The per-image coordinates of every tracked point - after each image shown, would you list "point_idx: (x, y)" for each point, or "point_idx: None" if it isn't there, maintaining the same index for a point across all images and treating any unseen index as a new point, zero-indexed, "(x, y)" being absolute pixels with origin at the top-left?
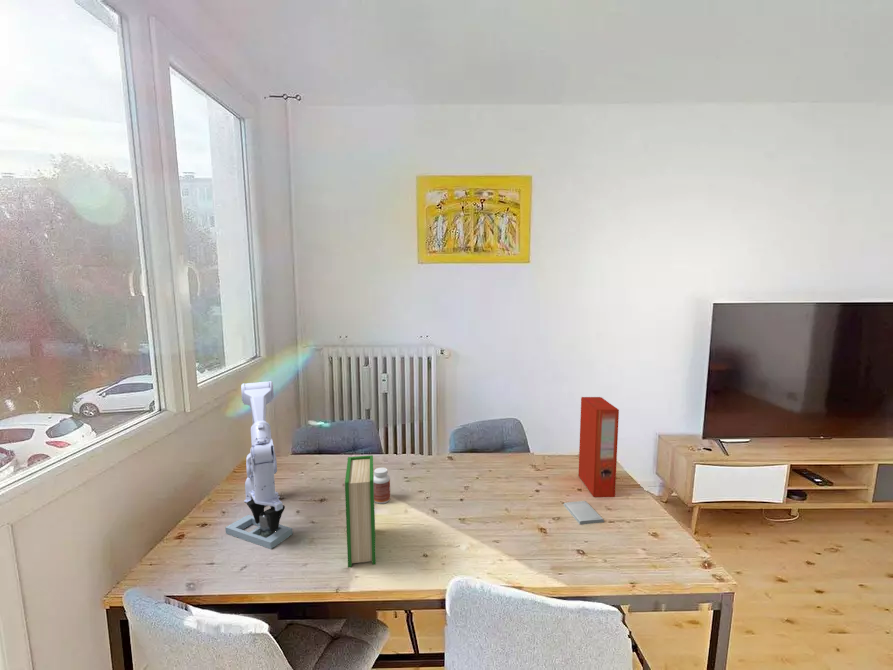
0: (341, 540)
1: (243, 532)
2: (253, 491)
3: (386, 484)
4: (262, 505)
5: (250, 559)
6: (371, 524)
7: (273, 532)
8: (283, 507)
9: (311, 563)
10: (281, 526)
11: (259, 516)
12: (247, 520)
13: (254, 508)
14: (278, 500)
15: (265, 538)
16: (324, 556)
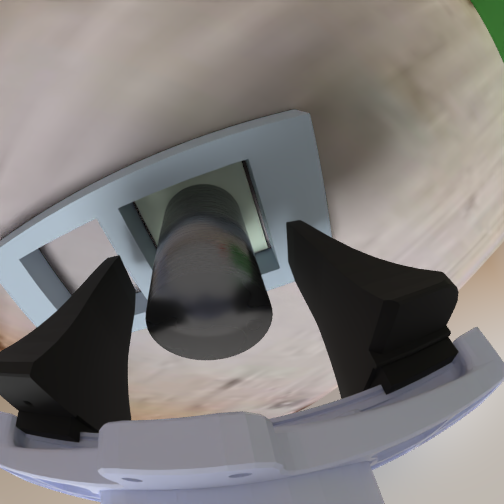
0: (477, 41)
1: (139, 325)
2: (24, 478)
3: None
4: (83, 346)
5: (312, 315)
6: None
7: (238, 211)
8: (455, 303)
9: (480, 189)
10: (226, 153)
11: (200, 356)
12: (32, 280)
13: (122, 396)
14: (456, 406)
15: (280, 273)
16: (490, 142)
